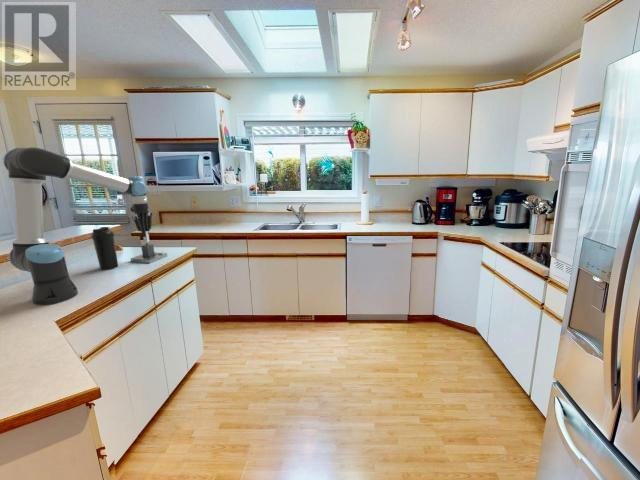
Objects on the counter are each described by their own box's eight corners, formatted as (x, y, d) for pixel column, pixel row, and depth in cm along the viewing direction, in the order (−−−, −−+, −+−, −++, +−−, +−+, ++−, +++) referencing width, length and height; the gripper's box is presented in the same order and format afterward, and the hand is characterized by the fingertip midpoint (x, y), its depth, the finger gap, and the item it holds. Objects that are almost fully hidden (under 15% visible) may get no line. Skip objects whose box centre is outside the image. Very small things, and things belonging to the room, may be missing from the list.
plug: (149, 260, 181) (146, 244, 179) (143, 259, 183) (140, 243, 180) (155, 258, 185) (152, 242, 183) (149, 257, 187) (146, 241, 184)
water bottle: (124, 264, 174) (116, 226, 168) (110, 270, 164) (102, 230, 159) (108, 264, 175) (100, 226, 169) (93, 270, 165) (85, 230, 160)
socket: (149, 263, 176) (149, 259, 175) (130, 261, 179) (130, 257, 179) (167, 256, 189) (166, 252, 188) (149, 254, 192) (148, 250, 192)
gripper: (136, 204, 168) (143, 244, 174) (154, 201, 180) (160, 239, 186) (125, 204, 170) (132, 244, 176) (144, 201, 182) (150, 238, 188)
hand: (146, 241), depth 181 cm, fingers closed
